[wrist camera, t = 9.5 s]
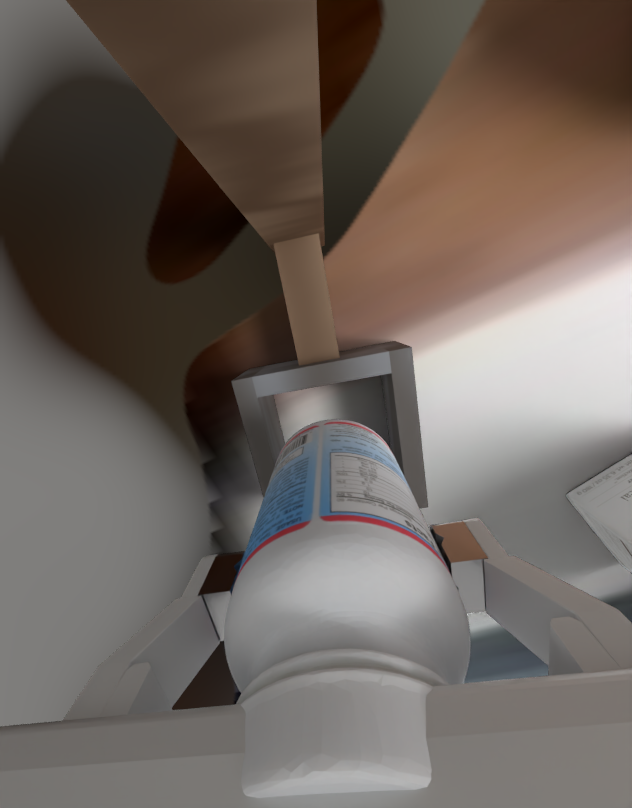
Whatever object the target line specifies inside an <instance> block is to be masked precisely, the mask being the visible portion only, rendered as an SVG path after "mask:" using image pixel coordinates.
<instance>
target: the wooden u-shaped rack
mask: <svg viewBox="0 0 632 808" xmlns="http://www.w3.org/2000/svg"><path fill="white" fill-rule="evenodd" d="M66 1H67V2H68V3H69V4H70V6H71V7H72V8H73V9H74V10H75V12H76V13H77V14H78V15H79V17H80V18H81V19H82V20H83V21H84V23H85V24H86V25H87V26H88V27H89V29H90V30H91V31H92V32H93V33H94V35H95V36H96V37H97V38H98V40H99V41H100V42H101V43H102V44H103V45H104V47H105V48H106V49H107V50H108V51H109V53H110V54H111V55H112V57H113V58H114V59H115V60H116V61H117V63H118V64H119V65H120V66H121V67H122V69H123V70H124V71H125V72H126V74H127V75H128V76H129V77H130V78H131V80H132V81H133V82H134V83H135V84H136V86H137V87H138V88H139V89H140V91H141V92H142V93H143V94H144V95H145V97H146V98H147V99H148V100H149V101H150V103H151V104H152V105H153V106H154V107H155V109H156V110H157V111H158V112H159V114H160V115H161V116H162V117H163V118H164V120H165V121H166V122H167V123H168V124H169V126H170V127H171V128H172V129H173V130H174V132H175V133H176V134H177V135H178V137H179V138H180V139H181V140H182V141H183V143H184V144H185V145H186V146H187V148H188V149H189V150H190V151H191V152H192V154H193V155H194V156H195V157H196V158H197V160H198V161H199V162H200V163H201V164H202V166H203V167H204V168H205V169H206V171H207V172H208V173H209V174H210V175H211V177H212V178H213V179H214V180H215V181H216V183H217V184H218V185H219V186H220V188H221V189H222V190H223V191H224V192H225V194H226V195H227V196H228V197H229V198H230V200H231V201H232V202H233V203H234V205H235V206H236V207H237V208H238V209H239V211H240V212H241V213H242V214H243V215H244V217H245V218H246V219H247V220H248V222H249V223H250V224H251V225H252V226H253V227H254V229H255V230H256V231H257V232H258V234H259V235H260V236H261V237H262V238H263V240H264V241H265V242H266V243H267V245H268V246H269V247H270V248H271V249H272V251H273V252H274V253H275V254H276V258H277V263H278V268H279V273H280V278H281V282H282V287H283V292H284V297H285V301H286V306H287V311H288V316H289V320H290V325H291V330H292V334H293V339H294V344H295V349H296V353H297V358H298V360H294V361H288V362H283V363H278V364H273V365H267V366H262V367H257V368H252V369H249V370H247V371H246V372H244V373H243V374H241V375H240V376H238V377H237V378H235V379H234V380H232V381H231V382H232V386H233V389H234V393H235V397H236V400H237V404H238V407H239V411H240V414H241V418H242V422H243V425H244V429H245V432H246V436H247V440H248V443H249V447H250V450H251V454H252V458H253V461H254V465H255V468H256V472H257V475H258V479H259V483H260V486H261V490H262V493H263V497H264V496H265V493H266V490H267V487H268V485H269V481H270V478H271V476H272V473H273V470H274V467H275V464H276V461H277V459H278V457H279V454H280V452H281V450H282V448H283V447H284V445H285V442H284V438H283V434H282V429H281V425H280V421H279V417H278V413H277V409H276V405H275V400H274V396H273V395H274V394H280V393H285V392H291V391H296V390H302V389H307V388H313V387H319V386H324V385H330V384H335V383H341V382H346V381H352V380H357V379H363V378H368V377H374V376H379V375H381V379H382V387H383V394H384V402H385V409H386V416H387V424H388V431H389V439H390V446H391V451H392V453H393V455H394V457H395V459H396V461H397V463H398V465H399V467H400V469H401V471H402V473H403V475H404V477H405V479H406V481H407V483H408V486H409V488H410V490H411V492H412V494H413V496H414V498H415V500H416V502H417V505H418V507H419V508H427V507H428V501H427V491H426V481H425V472H424V462H423V452H422V443H421V433H420V423H419V414H418V404H417V394H416V385H415V375H414V365H413V356H412V347H410V346H407V345H404V344H402V343H399V342H396V341H393V342H388V343H383V344H377V345H372V346H367V347H362V348H356V349H351V350H346V351H341V352H339V350H338V344H337V338H336V332H335V326H334V320H333V315H332V309H331V303H330V297H329V291H328V285H327V280H326V274H325V268H324V262H323V256H322V251H321V246H324V245H325V241H324V240H325V238H324V209H323V180H322V153H321V152H322V151H321V122H320V93H319V64H318V35H317V6H316V0H66Z"/></svg>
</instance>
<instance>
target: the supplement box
mask: <svg viewBox="0 0 632 808" xmlns="http://www.w3.org/2000/svg"><path fill="white" fill-rule="evenodd" d="M566 497H567V499H568V500H569V501H570V502H571V504H572V505H573V506H574V507H575V509H576V510H577V511H578V512H579V513H580V515H581V516H582V517H583V518H584V520H585V521H586V522H587V523H588V525H589V526H590V527H591V528H592V530H593V531H594V532H595V533H596V535H597V536H598V537H599V538H600V539H601V541H602V542H603V543H604V544H605V546H606V547H607V548H608V549H609V551H610V552H611V553H612V554H613V556H614V557H615V558H616V559H617V560H618V562H619V563H620V564H621V565H622V566H623V567H624V568H626V569H627V570H628V571H629V572H630V573H632V454H631V455H629V456H628V457H626V458H624V459H623V460H621V461H619V462H618V463H616V464H614V465H613V466H611V467H609V468H608V469H606V470H605V471H603V472H601V473H600V474H598V475H597V476H595V477H593V478H592V479H590V480H589V481H587V482H585V483H584V484H582V485H580V486H579V487H577V488H575V489H574V490H572V491H571V492H569V493H568V494H566Z"/></svg>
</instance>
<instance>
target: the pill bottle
mask: <svg viewBox="0 0 632 808" xmlns="http://www.w3.org/2000/svg"><path fill="white" fill-rule="evenodd" d="M224 644H225V651H226V657H227V662H228V665H229V668H230V672H231V674H232V676H233V679H234V681H235V683H236V685H237V687H238V689H239V691H240V692H241V696H240V697H239V699H238V701H237V703H236V705H237V704H241V706H242V707H243V708H244V710H245V713H246V717H245V756H244V761H243V767H242V778H241V785H242V789H243V792H244V794H245V795H246V796H250V797H255V798H265V797H277V796H290V795H309V794H327V793H348V792H370V791H391V790H416V789H420V788H424V787H427V786H428V785H429V783H430V781H431V772H432V769H431V763H430V757H429V751H428V746H427V741H426V696H427V695H428V693H429V692H430V691H432V690H433V689H434V687H432V686H442V685H453V684H463V683H464V680H465V677H466V674H467V669H468V665H469V660H470V650H471V644H470V629H469V622H468V618H467V614H466V610H465V607H464V604H463V602H462V599H461V596H460V594H459V592H458V590H457V587H456V585H455V583H454V580H453V578H452V576H451V574H450V572H449V570H448V567H447V565H446V563H445V561H444V559H443V557H442V555H441V553H440V551H439V549H438V546H437V544H436V542H435V540H434V538H433V536H432V534H431V532H430V530H429V528H428V526H427V524H426V521H425V519H424V517H423V515H422V513H421V511H420V509H419V507H418V505H417V502H416V500H415V498H414V496H413V494H412V492H411V490H410V488H409V486H408V483H407V481H406V479H405V477H404V475H403V473H402V471H401V469H400V467H399V465H398V463H397V461H396V459H395V457H394V455H393V453H392V451H391V450H390V448H389V446H388V445H387V444H386V442H385V441H384V440H383V439H382V438H381V437H380V436H379V435H378V434H377V433H376V432H374V431H373V430H371V429H370V428H368V427H366V426H364V425H362V424H360V423H357V422H354V421H349V420H341V419H332V420H324V421H319V422H316V423H313V424H310V425H308V426H306V427H304V428H302V429H301V430H300V431H298V432H297V433H295V434H294V435H293V436H292V437H291V438H290V439H289V440H288V441H287V443H286V444H285V445H284V447H283V448H282V450H281V452H280V454H279V457H278V459H277V461H276V464H275V467H274V470H273V473H272V476H271V478H270V481H269V485H268V487H267V490H266V493H265V496H264V499H263V502H262V505H261V508H260V511H259V514H258V517H257V520H256V523H255V526H254V528H253V531H252V534H251V537H250V540H249V543H248V545H247V548H246V551H245V554H244V557H243V560H242V563H241V566H240V569H239V572H238V575H237V578H236V581H235V584H234V587H233V591H232V594H231V597H230V601H229V604H228V608H227V612H226V618H225V626H224Z"/></svg>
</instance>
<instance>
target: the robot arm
mask: <svg viewBox="0 0 632 808" xmlns="http://www.w3.org/2000/svg"><path fill="white" fill-rule="evenodd" d="M430 532H431V534H432V536H433V538H434V540H435V542H436V544H437V546H438V549H439V551H440V553H441V555H442V557H443V559H444V561H445V563H446V565H447V567H448V570H449V572H450V574H451V576H452V578H453V580H454V583H455V585H456V587H457V590H458V592H459V594H460V596H461V599H462V602H463V604H464V607H465V610H466V613H470V612H483V611H486V613H487V614H488V615H490V616H491V617H492V618H493V619H494V620H495V621H497V622H498V623H499V624H500V625H501V626H502V627H504V628H505V629H506V630H507V631H508V632H509V633H511V634H512V635H513V636H514V637H515V638H516V639H518V640H519V641H520V642H521V643H522V644H523V645H525V646H526V647H527V648H528V649H529V650H531V651H532V652H533V653H534V654H535V655H536V656H538V657H539V658H540V659H541V660H542V661H543V662H545V663H546V664H547V665H548V666H549V671H548V676H539V677H528V678H517V679H506V680H496V681H485V682H474V683H464V684H453V685H442V686H432V687H434V689H433V690H432V691H430V692H429V693H428V695H427V696H426V741H427V746H428V751H429V757H430V763H431V769H432V772H431V781H430V783H429V785H428V786H427V787H424V788H420V789H416V790H391V791H370V792H348V793H327V794H309V795H290V796H277V797H265V798H255V797H250V796H246V795H245V794H244V792H243V789H242V785H241V778H242V767H243V761H244V756H245V717H246V713H245V710H244V708H243V707H242V706H241V704H237V705H226V706H216V707H205V708H194V709H184V710H172V706H173V705H174V704H175V702H176V701H177V700H178V698H179V697H180V696H181V694H182V693H183V692H184V690H185V689H186V687H187V686H188V685H189V684H190V682H191V681H192V679H193V678H194V677H195V676H196V674H197V673H198V671H199V670H200V669H201V667H202V666H203V665H204V663H205V662H206V661H207V659H208V658H209V657H210V655H211V654H212V652H213V651H214V650H215V649H216V647H217V646H218V644H219V643H220V642H219V641H224V626H225V618H226V612H227V608H228V604H229V601H230V597H231V594H232V591H233V587H234V584H235V581H236V578H237V575H238V572H239V569H240V566H241V563H242V560H243V557H244V554H245V551H241V552H232V553H223V554H218V555H208V556H204V557H203V558H202V559H201V560H200V562H199V564H198V566H197V568H196V570H195V572H194V574H193V575H192V577H191V579H190V581H189V583H188V585H187V587H186V589H185V591H184V593H183V594H182V596H181V598H179V599H175V600H174V601H173V602H172V603H171V604H170V605H168V606H167V607H166V608H165V609H164V610H163V611H162V612H160V613H159V614H158V615H157V616H156V617H154V618H153V619H152V620H151V621H150V622H149V623H148V624H146V625H145V626H144V627H143V628H142V629H141V630H140V631H138V632H137V633H136V634H135V635H134V636H132V637H131V638H130V639H129V640H128V641H127V642H126V643H124V644H123V645H122V646H121V647H120V648H119V649H117V650H116V651H115V652H114V653H113V654H112V655H110V656H109V657H108V658H107V659H106V660H105V661H104V662H102V663H101V664H100V665H99V666H98V667H97V669H96V670H95V672H94V674H93V675H92V676H91V678H90V679H89V681H88V683H87V684H86V686H85V687H84V689H83V690H82V692H81V693H80V695H79V696H78V698H77V699H76V701H75V702H74V704H73V705H72V707H71V708H70V710H69V711H68V713H67V714H66V716H65V717H64V719H63V720H62V721H55V722H44V723H32V724H21V725H11V726H1V727H0V808H632V623H631V622H630V621H629V620H628V619H627V618H626V617H625V616H624V615H623V614H622V613H621V612H620V611H619V610H618V609H616V608H614V607H612V606H610V605H608V604H606V603H604V602H602V601H600V600H599V599H597V598H595V597H593V596H591V595H589V594H587V593H585V592H583V591H581V590H579V589H577V588H575V587H574V586H572V585H570V584H568V583H566V582H564V581H562V580H560V579H558V578H556V577H554V576H552V575H550V574H548V573H547V572H545V571H543V570H541V569H539V568H537V567H535V566H533V565H531V564H529V563H527V562H525V561H523V560H522V559H520V558H518V557H516V556H508V554H507V553H506V552H505V550H504V549H503V548H502V547H501V545H500V544H499V543H498V541H497V540H496V539H495V538H494V536H493V535H492V534H491V532H490V531H489V530H488V529H487V527H486V526H485V525H484V523H483V522H482V521H481V520H480V519H479V518H473V519H467V520H462V521H456V522H449V523H442V524H436V525H430Z"/></svg>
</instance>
